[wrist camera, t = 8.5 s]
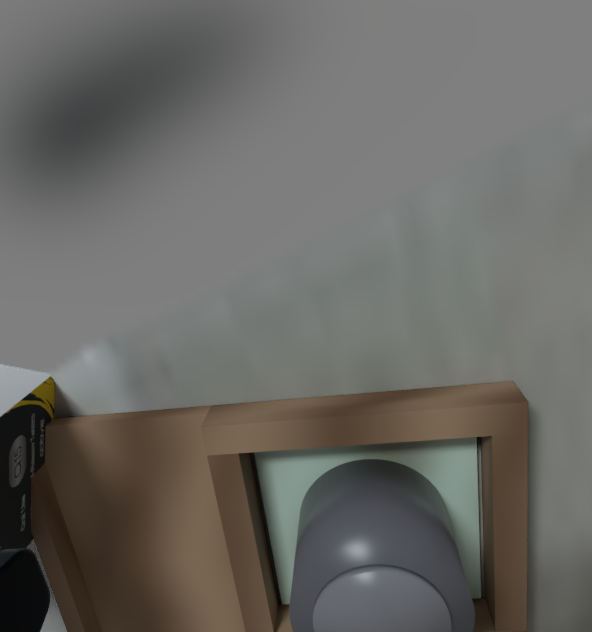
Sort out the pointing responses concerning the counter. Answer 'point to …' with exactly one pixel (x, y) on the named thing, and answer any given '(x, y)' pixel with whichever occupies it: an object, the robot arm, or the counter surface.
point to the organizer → (278, 498)
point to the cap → (377, 555)
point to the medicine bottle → (21, 447)
